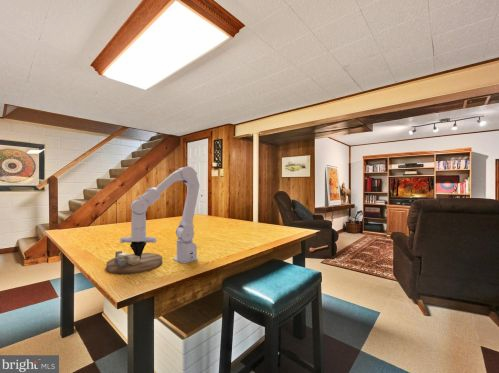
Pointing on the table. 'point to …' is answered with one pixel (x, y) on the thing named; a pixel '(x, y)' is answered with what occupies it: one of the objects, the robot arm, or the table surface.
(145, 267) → the stool seat
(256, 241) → the table surface
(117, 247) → the table surface
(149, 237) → the robot arm
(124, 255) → the folding leg
